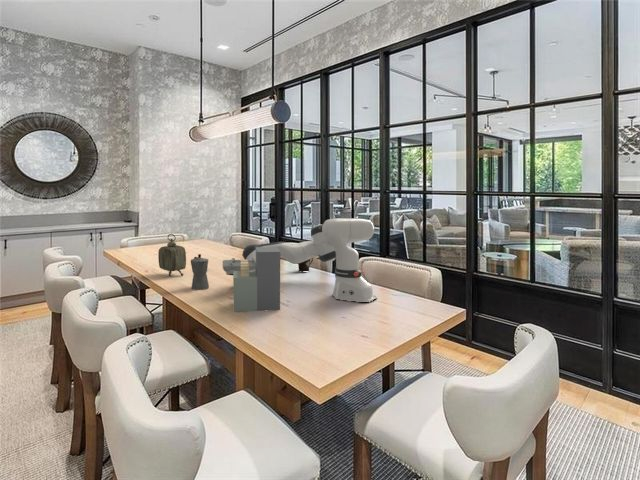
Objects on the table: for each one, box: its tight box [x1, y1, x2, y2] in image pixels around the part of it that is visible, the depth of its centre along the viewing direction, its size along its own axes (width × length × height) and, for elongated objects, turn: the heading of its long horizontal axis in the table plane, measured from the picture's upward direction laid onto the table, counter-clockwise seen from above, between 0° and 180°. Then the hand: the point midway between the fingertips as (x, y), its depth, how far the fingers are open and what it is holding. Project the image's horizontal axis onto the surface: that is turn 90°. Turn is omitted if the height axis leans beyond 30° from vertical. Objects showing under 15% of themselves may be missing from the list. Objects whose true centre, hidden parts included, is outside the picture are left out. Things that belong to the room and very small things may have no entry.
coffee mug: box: [297, 257, 314, 272], centre depth 256 cm, size 12×9×10 cm
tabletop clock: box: [157, 233, 187, 277], centre depth 236 cm, size 14×9×25 cm, turn 58°
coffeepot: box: [190, 253, 210, 291], centre depth 211 cm, size 15×9×18 cm, turn 34°
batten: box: [240, 259, 249, 277], centre depth 183 cm, size 20×4×4 cm, turn 11°
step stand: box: [232, 247, 281, 313], centre depth 179 cm, size 14×20×26 cm
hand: (243, 259), depth 193 cm, fingers open, 8 cm apart
